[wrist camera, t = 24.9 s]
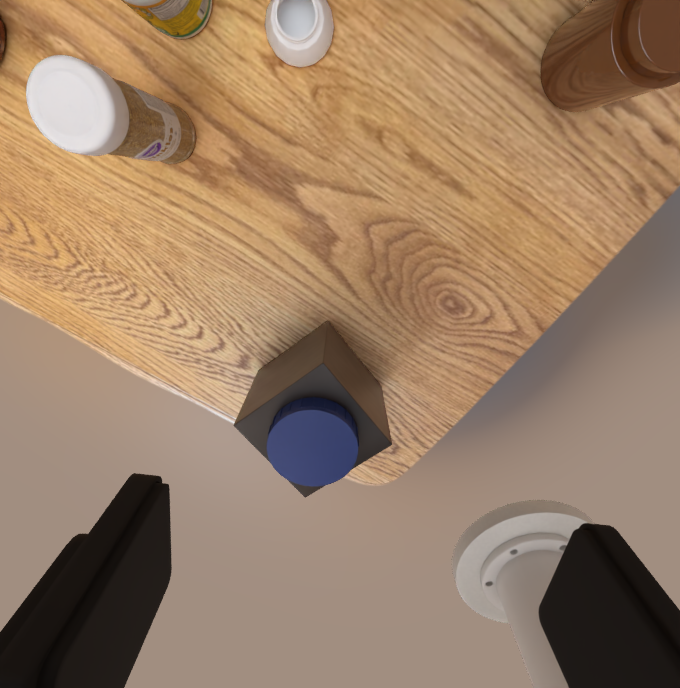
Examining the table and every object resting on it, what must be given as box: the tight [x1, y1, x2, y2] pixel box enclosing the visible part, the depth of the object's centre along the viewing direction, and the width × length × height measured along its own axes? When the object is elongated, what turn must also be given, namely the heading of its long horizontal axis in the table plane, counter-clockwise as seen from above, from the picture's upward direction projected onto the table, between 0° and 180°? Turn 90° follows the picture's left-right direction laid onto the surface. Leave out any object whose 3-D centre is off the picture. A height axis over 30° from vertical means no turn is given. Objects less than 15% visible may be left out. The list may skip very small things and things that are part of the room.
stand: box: [234, 321, 392, 497], centre depth 37 cm, size 9×9×10 cm
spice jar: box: [26, 55, 196, 164], centre depth 27 cm, size 5×5×14 cm
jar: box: [541, 0, 680, 112], centre depth 27 cm, size 7×7×11 cm
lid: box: [267, 397, 359, 486], centre depth 32 cm, size 7×7×2 cm
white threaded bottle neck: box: [265, 0, 334, 68], centre depth 30 cm, size 5×3×5 cm
